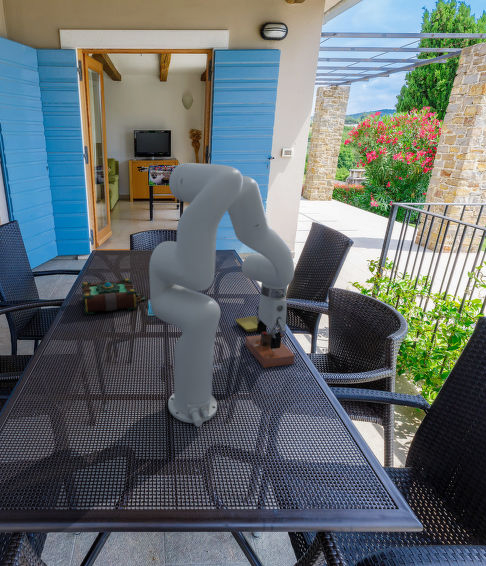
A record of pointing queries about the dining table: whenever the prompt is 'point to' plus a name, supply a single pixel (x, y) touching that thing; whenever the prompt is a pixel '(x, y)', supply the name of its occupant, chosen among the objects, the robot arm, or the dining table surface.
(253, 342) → the panel
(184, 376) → the robot arm
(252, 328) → the yellow square tray
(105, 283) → the book
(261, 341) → the black block red end
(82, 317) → the dining table surface
